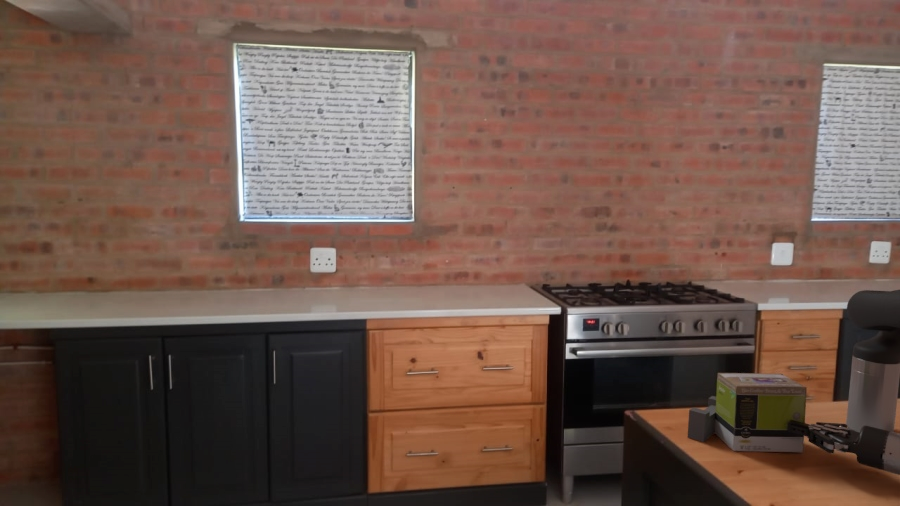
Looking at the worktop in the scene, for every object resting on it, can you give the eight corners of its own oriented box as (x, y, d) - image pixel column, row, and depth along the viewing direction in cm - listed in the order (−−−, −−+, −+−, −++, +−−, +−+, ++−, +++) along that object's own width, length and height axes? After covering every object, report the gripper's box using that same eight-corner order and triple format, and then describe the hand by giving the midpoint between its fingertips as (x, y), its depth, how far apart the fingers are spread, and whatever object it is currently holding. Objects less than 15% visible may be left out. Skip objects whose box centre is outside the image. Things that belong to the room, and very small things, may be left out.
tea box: (778, 435, 135) (783, 372, 134) (803, 454, 125) (809, 387, 124) (712, 433, 135) (716, 370, 134) (732, 452, 125) (737, 385, 124)
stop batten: (710, 421, 142) (712, 395, 142) (726, 425, 140) (727, 399, 139) (687, 437, 133) (689, 409, 132) (703, 442, 130) (705, 414, 130)
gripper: (897, 423, 116) (798, 400, 128) (885, 442, 107) (780, 416, 119) (893, 459, 117) (795, 433, 129) (881, 481, 108) (777, 451, 120)
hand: (788, 425), depth 124 cm, fingers closed
